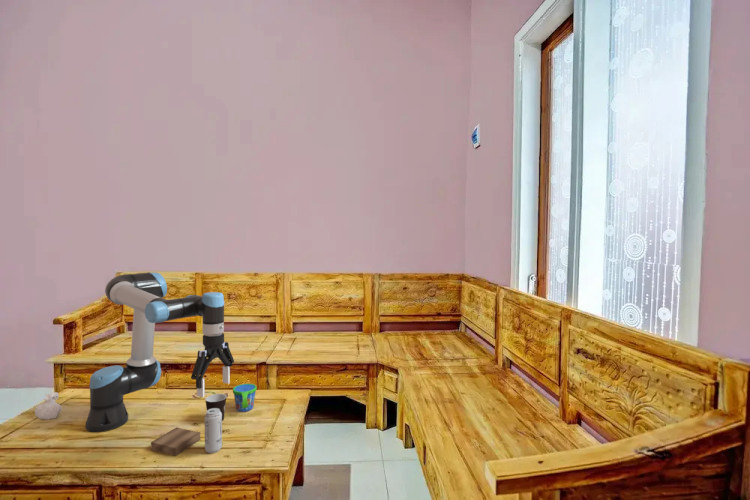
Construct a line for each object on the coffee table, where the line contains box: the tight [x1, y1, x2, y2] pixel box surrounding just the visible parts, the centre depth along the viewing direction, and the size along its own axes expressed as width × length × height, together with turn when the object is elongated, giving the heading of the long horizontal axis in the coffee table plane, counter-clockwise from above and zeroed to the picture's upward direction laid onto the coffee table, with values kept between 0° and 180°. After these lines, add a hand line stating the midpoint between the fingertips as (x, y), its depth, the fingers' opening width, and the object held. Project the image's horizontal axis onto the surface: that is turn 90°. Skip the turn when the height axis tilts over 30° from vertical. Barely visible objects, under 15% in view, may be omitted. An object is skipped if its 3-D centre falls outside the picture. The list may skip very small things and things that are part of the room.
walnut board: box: [150, 427, 201, 457], centre depth 151 cm, size 12×12×3 cm
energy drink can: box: [204, 408, 223, 454], centre depth 147 cm, size 6×6×15 cm
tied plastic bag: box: [34, 391, 63, 420], centre depth 173 cm, size 12×8×11 cm
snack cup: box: [232, 383, 257, 413], centre depth 182 cm, size 16×10×10 cm
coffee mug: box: [204, 393, 227, 422], centre depth 172 cm, size 12×9×10 cm
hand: (214, 389), depth 147 cm, fingers open, 13 cm apart
